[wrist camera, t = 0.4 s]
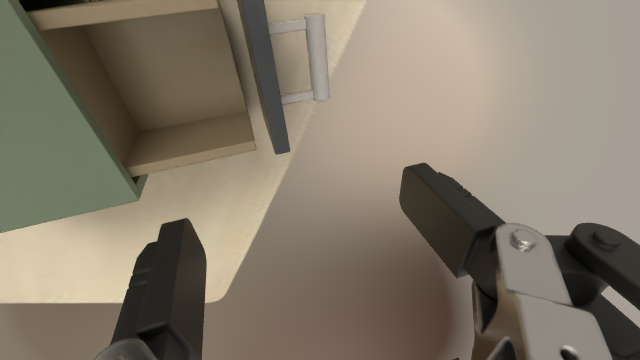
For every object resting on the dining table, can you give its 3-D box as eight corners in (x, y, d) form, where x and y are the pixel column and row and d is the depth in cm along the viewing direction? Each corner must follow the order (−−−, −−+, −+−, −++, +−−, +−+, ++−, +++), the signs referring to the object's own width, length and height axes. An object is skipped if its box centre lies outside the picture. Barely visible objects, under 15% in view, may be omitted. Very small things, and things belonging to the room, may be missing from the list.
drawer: (303, -33, 21) (334, -39, 15) (317, 107, 28) (341, 140, 22) (57, -8, 18) (-17, -2, 12) (141, 143, 25) (118, 191, 19)
